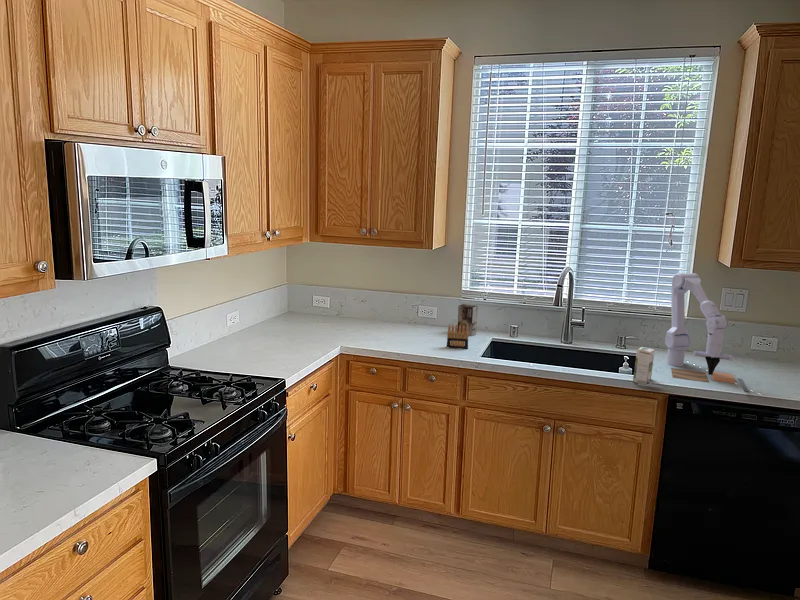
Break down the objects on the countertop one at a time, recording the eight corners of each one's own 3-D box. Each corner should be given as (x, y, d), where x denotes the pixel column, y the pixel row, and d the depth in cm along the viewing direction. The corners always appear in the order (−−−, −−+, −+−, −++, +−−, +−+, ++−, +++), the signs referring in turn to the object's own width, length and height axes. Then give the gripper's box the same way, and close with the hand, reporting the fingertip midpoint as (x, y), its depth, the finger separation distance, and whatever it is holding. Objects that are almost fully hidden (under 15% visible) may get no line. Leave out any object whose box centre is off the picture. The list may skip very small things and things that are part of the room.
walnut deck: (670, 371, 263) (670, 367, 263) (705, 375, 258) (705, 372, 258) (672, 380, 249) (672, 377, 248) (708, 385, 243) (709, 382, 243)
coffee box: (476, 334, 321) (478, 305, 318) (471, 336, 316) (473, 307, 313) (461, 331, 326) (463, 303, 323) (456, 333, 321) (458, 305, 318)
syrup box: (636, 379, 250) (640, 346, 247) (651, 382, 246) (655, 349, 243) (632, 382, 245) (636, 348, 243) (647, 385, 242) (650, 351, 239)
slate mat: (706, 375, 259) (706, 374, 259) (741, 379, 254) (742, 378, 253) (710, 386, 242) (710, 385, 242) (748, 392, 237) (748, 391, 237)
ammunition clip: (446, 347, 291) (447, 324, 289) (446, 346, 293) (447, 323, 291) (467, 349, 290) (469, 325, 287) (467, 348, 291) (469, 324, 289)
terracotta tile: (710, 378, 253) (711, 371, 253) (731, 380, 250) (732, 374, 250) (712, 382, 247) (713, 375, 246) (733, 385, 244) (734, 378, 243)
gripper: (696, 343, 246) (692, 374, 249) (735, 347, 241) (730, 379, 243) (694, 339, 253) (691, 369, 255) (732, 344, 247) (728, 374, 250)
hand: (710, 374), depth 250 cm, fingers closed
